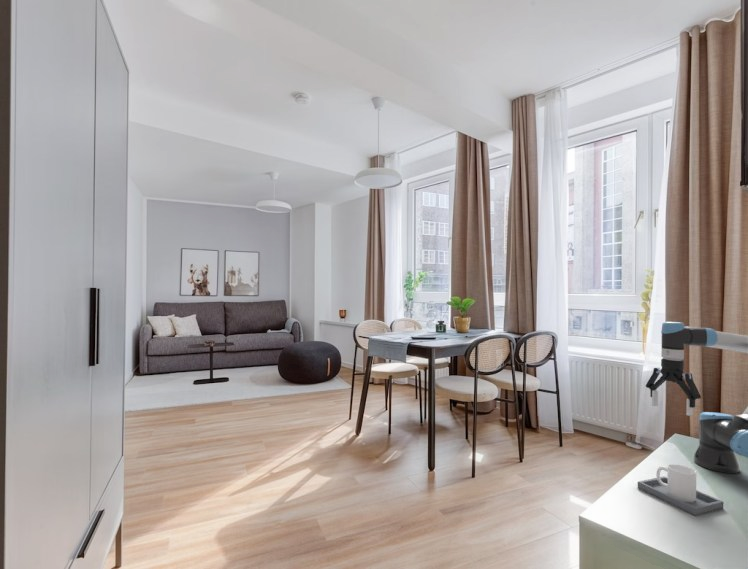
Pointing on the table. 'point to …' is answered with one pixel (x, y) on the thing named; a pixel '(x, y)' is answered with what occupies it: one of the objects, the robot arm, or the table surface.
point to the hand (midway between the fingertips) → (671, 410)
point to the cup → (680, 482)
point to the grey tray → (696, 508)
